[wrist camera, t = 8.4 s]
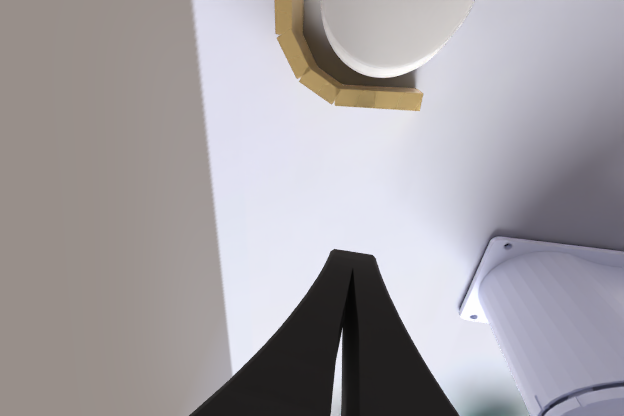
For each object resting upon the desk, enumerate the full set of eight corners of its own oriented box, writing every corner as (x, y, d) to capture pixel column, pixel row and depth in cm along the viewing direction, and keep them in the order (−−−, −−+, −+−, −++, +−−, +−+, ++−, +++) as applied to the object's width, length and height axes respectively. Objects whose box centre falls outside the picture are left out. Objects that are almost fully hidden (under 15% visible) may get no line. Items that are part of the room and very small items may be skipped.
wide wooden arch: (453, -99, 11) (472, -136, 9) (412, 103, 15) (419, 111, 13) (287, -92, 12) (270, -123, 10) (289, 96, 16) (277, 102, 14)
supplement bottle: (378, -69, 12) (392, -247, 5) (456, -1, 13) (565, -74, 6) (320, 35, 15) (273, 15, 7) (388, 89, 15) (404, 117, 8)
